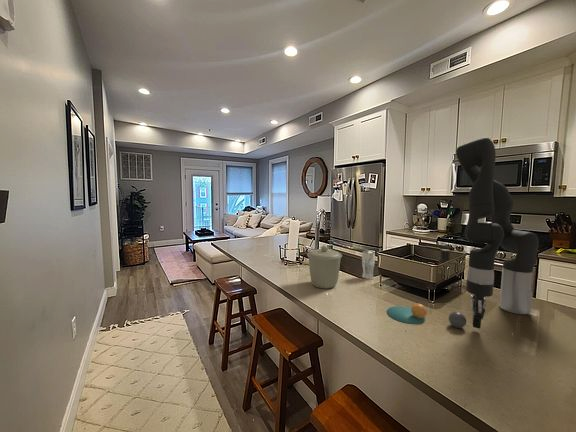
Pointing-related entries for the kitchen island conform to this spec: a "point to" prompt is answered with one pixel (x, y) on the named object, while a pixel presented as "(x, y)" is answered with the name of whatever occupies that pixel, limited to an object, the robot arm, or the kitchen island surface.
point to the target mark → (403, 315)
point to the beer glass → (368, 264)
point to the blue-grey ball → (457, 319)
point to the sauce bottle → (445, 258)
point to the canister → (324, 267)
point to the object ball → (418, 310)
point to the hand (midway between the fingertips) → (476, 326)
